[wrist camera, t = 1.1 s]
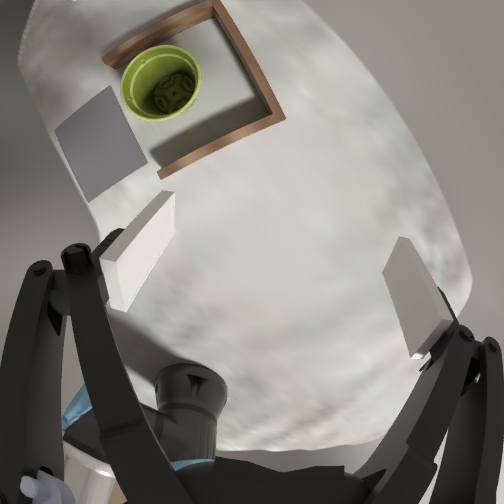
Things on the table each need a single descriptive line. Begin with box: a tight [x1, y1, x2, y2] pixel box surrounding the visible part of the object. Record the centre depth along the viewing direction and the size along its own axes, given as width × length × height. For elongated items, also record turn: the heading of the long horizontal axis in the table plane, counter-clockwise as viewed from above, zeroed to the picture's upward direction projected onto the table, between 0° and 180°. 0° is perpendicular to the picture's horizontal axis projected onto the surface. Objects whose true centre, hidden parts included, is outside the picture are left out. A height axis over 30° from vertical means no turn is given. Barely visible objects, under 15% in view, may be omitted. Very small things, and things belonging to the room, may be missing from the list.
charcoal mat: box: [55, 86, 148, 203], centre depth 35 cm, size 12×14×1 cm
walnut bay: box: [102, 0, 286, 179], centre depth 31 cm, size 17×20×4 cm
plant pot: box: [120, 45, 201, 122], centre depth 29 cm, size 9×9×9 cm
